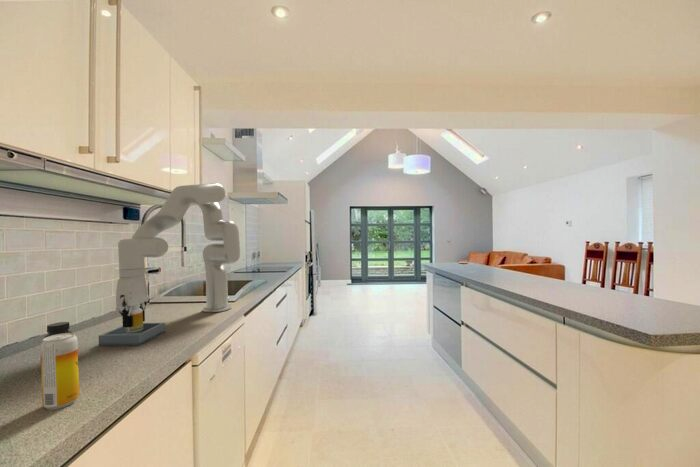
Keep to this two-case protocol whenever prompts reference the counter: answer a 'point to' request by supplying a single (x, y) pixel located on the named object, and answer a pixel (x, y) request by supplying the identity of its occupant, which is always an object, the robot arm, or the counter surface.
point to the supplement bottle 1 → (57, 329)
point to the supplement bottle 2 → (136, 319)
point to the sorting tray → (131, 335)
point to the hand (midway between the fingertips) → (134, 323)
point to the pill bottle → (59, 370)
